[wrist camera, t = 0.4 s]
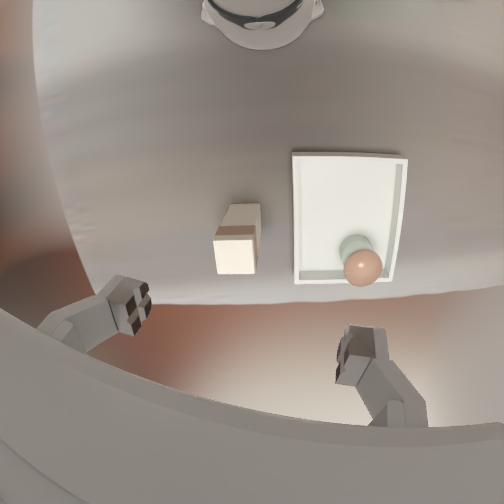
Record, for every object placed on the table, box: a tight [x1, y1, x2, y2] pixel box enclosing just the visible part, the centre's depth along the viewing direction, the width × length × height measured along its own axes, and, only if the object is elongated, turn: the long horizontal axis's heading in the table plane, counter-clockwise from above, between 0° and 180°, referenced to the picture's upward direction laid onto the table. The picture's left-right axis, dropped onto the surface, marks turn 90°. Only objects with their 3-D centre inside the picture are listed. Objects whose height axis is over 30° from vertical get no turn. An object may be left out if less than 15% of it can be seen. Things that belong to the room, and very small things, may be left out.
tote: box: [292, 152, 408, 284], centre depth 48 cm, size 22×18×4 cm
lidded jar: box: [339, 234, 383, 286], centre depth 48 cm, size 6×6×7 cm
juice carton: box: [213, 203, 262, 274], centre depth 45 cm, size 5×5×14 cm
